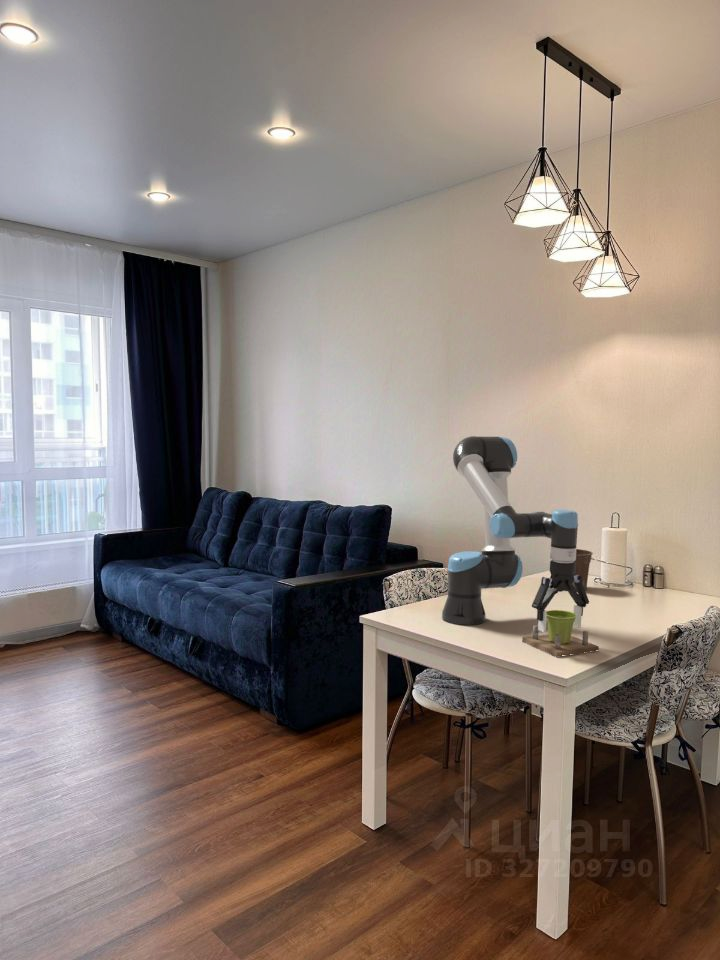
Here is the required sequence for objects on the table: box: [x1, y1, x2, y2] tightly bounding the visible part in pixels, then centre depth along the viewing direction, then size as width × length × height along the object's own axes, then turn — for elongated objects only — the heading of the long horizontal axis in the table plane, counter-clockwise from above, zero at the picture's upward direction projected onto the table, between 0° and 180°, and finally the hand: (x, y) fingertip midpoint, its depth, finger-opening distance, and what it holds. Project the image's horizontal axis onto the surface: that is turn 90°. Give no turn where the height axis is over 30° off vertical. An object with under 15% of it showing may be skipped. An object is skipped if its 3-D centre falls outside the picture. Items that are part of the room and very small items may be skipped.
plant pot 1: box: [546, 609, 577, 644], centre depth 207 cm, size 9×9×9 cm
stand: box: [521, 624, 600, 657], centre depth 207 cm, size 16×16×6 cm
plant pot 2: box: [572, 548, 594, 592], centre depth 290 cm, size 16×16×16 cm
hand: (559, 628), depth 207 cm, fingers open, 13 cm apart
